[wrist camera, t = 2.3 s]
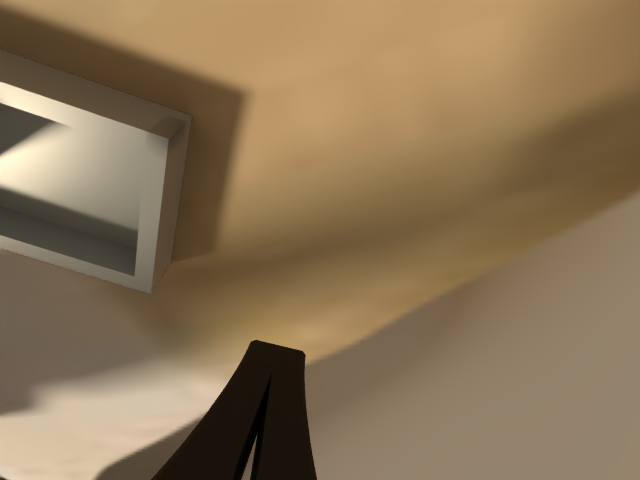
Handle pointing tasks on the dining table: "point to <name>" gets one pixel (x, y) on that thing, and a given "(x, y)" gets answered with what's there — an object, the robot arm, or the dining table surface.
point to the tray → (88, 174)
